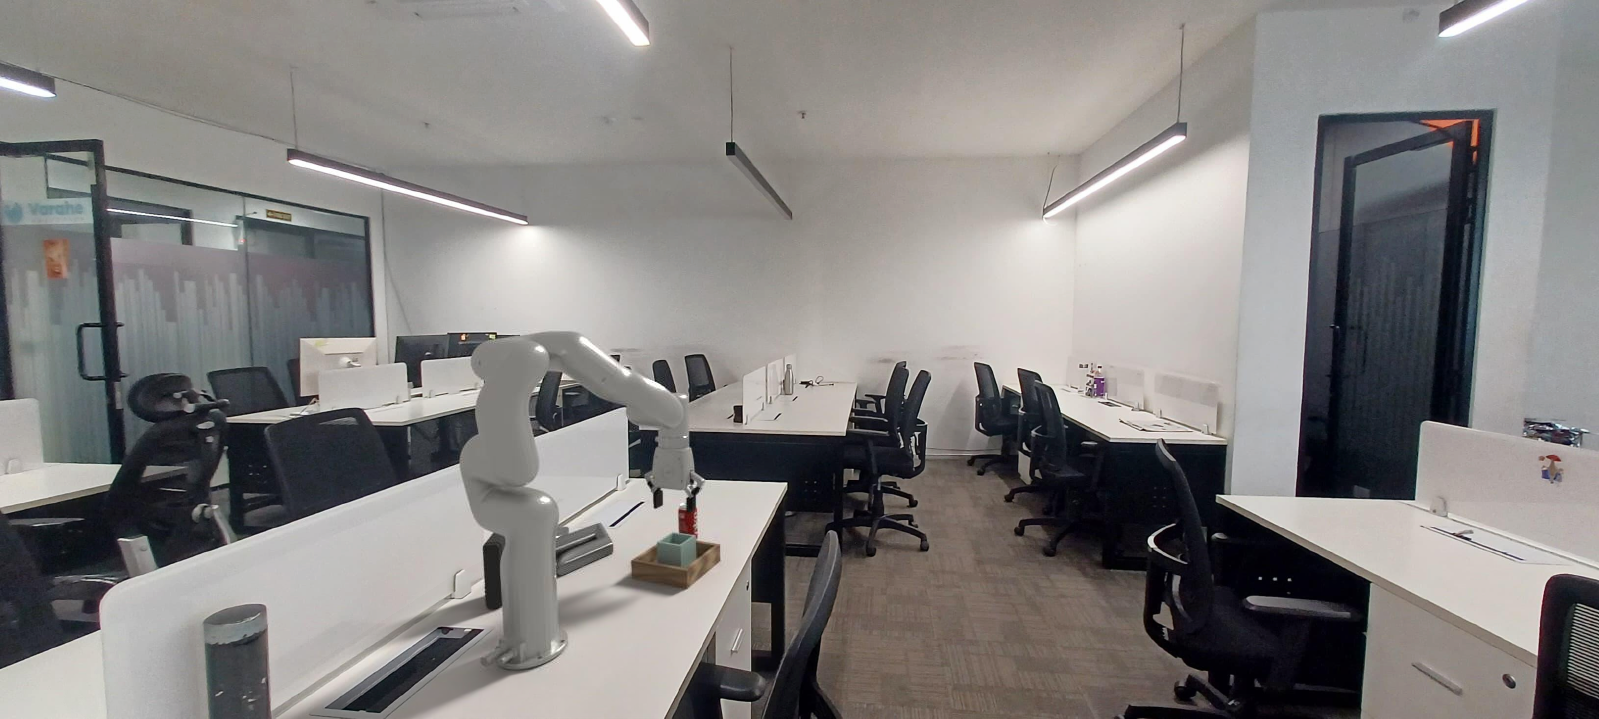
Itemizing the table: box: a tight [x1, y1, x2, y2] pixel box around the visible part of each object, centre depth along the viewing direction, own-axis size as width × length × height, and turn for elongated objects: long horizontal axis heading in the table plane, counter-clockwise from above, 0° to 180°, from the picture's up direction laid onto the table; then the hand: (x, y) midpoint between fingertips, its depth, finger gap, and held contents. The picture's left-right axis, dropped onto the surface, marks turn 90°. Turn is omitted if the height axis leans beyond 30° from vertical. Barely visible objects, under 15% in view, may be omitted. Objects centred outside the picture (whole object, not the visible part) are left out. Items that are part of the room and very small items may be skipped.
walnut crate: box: [630, 540, 721, 590], centre depth 139 cm, size 16×16×4 cm
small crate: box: [656, 531, 696, 568], centre depth 138 cm, size 7×7×7 cm
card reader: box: [482, 532, 506, 610], centre depth 124 cm, size 9×4×15 cm, turn 14°
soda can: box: [677, 502, 699, 541], centre depth 152 cm, size 5×5×12 cm
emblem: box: [555, 522, 614, 576], centre depth 148 cm, size 28×5×28 cm
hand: (674, 509), depth 137 cm, fingers open, 9 cm apart
